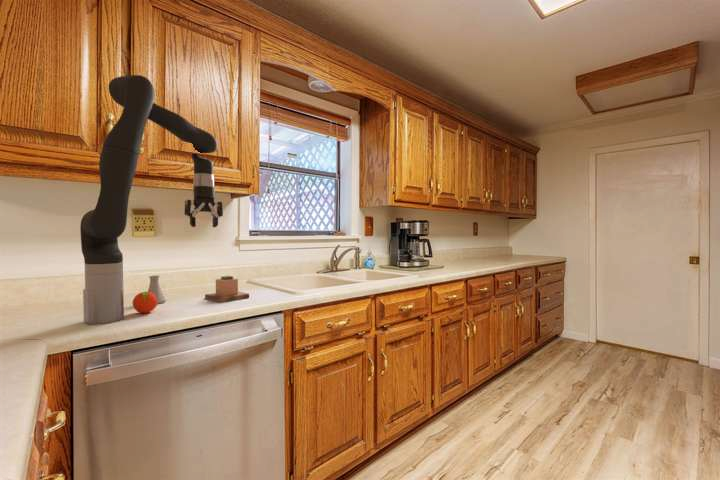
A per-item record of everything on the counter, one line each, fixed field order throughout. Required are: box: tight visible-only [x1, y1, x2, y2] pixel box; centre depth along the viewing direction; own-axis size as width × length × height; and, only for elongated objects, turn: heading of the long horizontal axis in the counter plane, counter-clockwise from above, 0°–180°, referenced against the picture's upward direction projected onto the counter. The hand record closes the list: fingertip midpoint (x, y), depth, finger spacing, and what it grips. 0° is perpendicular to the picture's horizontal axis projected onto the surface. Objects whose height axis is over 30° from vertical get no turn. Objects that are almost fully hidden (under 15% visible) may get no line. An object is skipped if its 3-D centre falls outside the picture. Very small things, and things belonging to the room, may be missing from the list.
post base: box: [204, 275, 250, 303], centre depth 138 cm, size 12×12×8 cm
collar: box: [215, 277, 239, 296], centre depth 138 cm, size 6×6×6 cm
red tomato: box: [132, 291, 158, 314], centre depth 113 cm, size 8×7×7 cm
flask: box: [147, 274, 167, 305], centre depth 129 cm, size 7×7×10 cm
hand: (204, 227), depth 139 cm, fingers open, 8 cm apart
